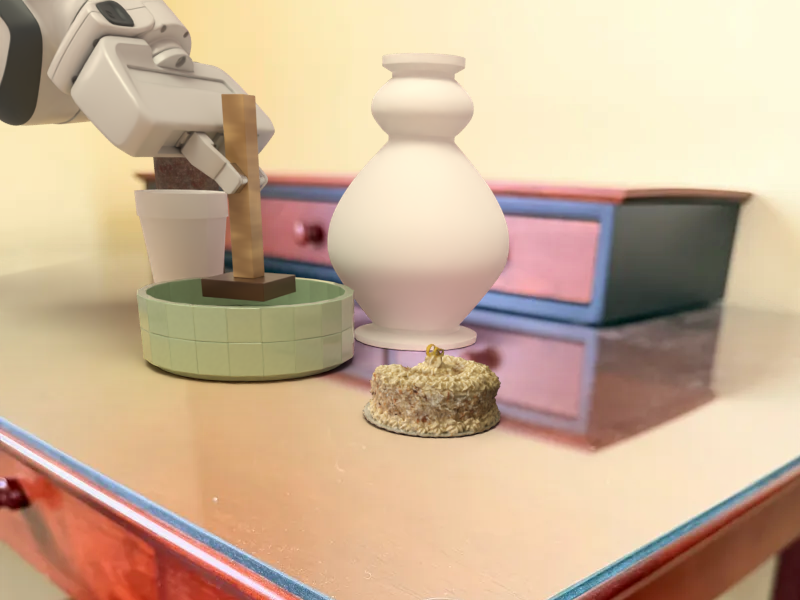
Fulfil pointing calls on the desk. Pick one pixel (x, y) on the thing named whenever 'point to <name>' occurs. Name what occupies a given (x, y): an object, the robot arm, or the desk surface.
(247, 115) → the wooden post stand
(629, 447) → the desk surface
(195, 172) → the dark brown tall block
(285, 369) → the bowl
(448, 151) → the decorative vase
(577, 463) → the desk surface
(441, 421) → the cake
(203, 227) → the white flower pot
